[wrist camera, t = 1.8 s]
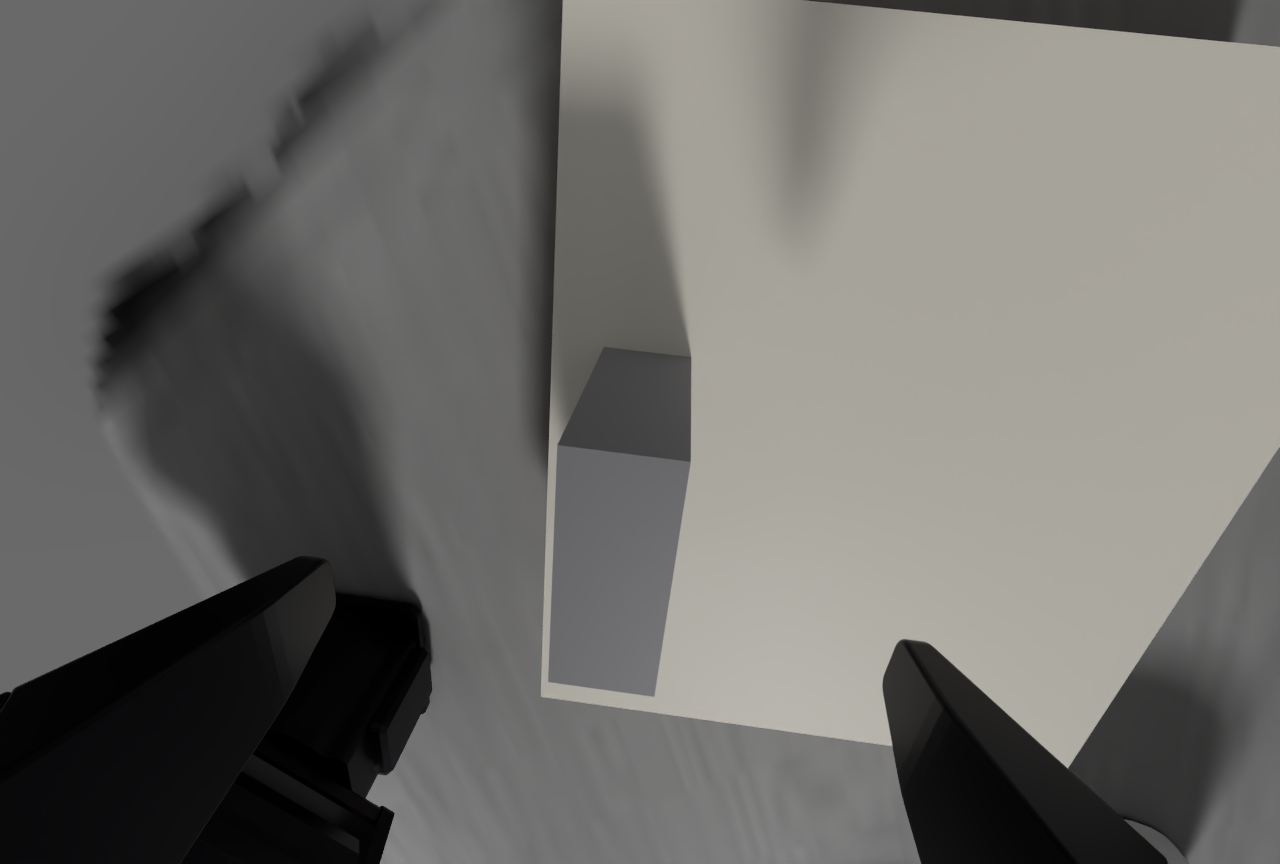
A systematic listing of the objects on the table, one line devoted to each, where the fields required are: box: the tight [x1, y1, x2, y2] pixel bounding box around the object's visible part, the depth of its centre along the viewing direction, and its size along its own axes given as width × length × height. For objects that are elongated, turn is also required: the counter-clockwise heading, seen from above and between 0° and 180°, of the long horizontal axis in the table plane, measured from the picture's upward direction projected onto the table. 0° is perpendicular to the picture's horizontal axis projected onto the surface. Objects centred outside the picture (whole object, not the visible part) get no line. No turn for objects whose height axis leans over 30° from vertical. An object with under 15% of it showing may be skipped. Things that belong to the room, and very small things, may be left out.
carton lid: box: [541, 0, 1280, 768], centre depth 12 cm, size 16×18×6 cm
